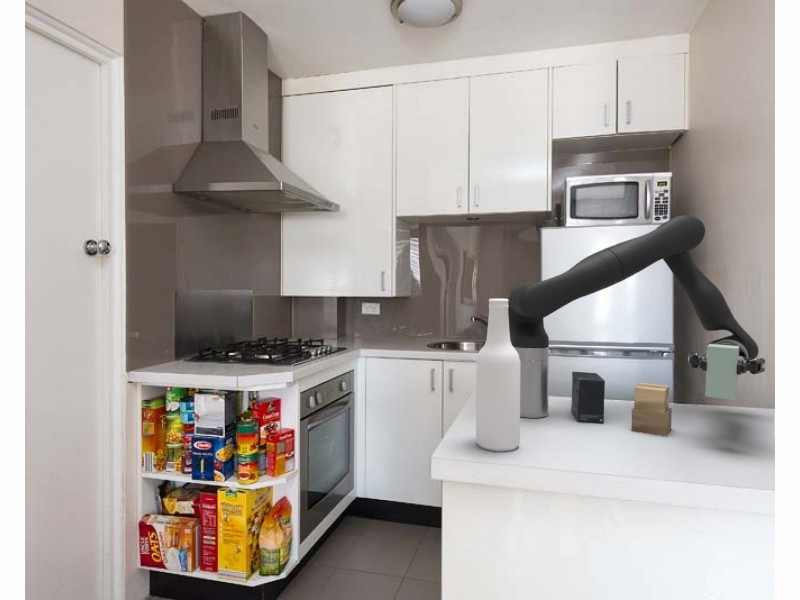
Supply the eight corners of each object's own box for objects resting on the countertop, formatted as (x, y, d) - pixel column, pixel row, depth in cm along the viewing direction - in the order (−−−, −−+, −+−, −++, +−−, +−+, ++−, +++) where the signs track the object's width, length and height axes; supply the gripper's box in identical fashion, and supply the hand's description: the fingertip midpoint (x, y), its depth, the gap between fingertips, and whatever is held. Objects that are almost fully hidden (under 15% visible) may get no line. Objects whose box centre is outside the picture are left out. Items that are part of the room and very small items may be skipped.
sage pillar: (735, 400, 93) (737, 348, 93) (705, 396, 96) (707, 346, 96) (737, 395, 97) (739, 346, 97) (707, 391, 100) (709, 343, 100)
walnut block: (666, 437, 104) (667, 414, 104) (631, 431, 109) (631, 409, 108) (671, 429, 110) (671, 407, 110) (637, 424, 114) (638, 403, 114)
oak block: (664, 413, 105) (664, 390, 105) (634, 409, 109) (634, 387, 108) (668, 408, 110) (669, 386, 110) (640, 404, 113) (640, 382, 113)
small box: (605, 424, 114) (606, 379, 114) (576, 422, 115) (577, 378, 115) (596, 412, 124) (597, 371, 124) (570, 411, 126) (570, 371, 125)
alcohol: (473, 450, 96) (474, 299, 95) (478, 436, 104) (479, 298, 103) (519, 454, 94) (520, 299, 93) (520, 440, 102) (521, 298, 101)
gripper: (690, 338, 112) (680, 345, 99) (768, 343, 103) (768, 352, 90) (689, 370, 112) (678, 381, 99) (766, 378, 104) (766, 392, 90)
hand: (721, 367), depth 94 cm, fingers closed on sage pillar, 5 cm apart
